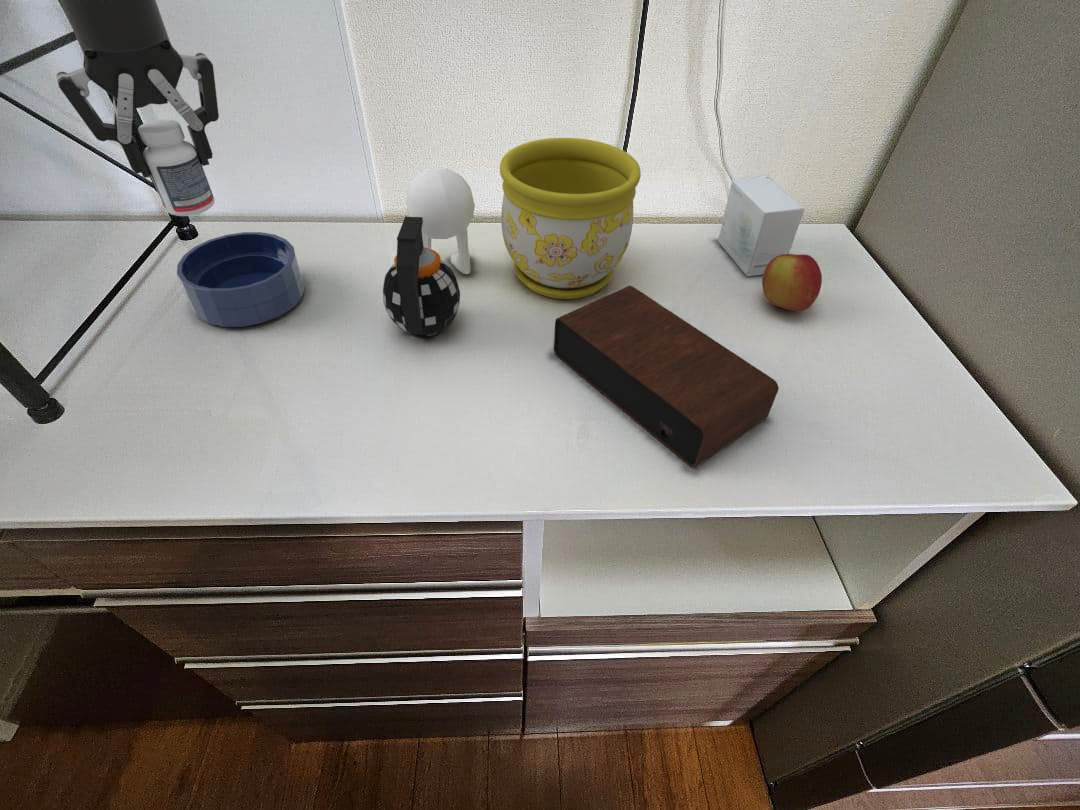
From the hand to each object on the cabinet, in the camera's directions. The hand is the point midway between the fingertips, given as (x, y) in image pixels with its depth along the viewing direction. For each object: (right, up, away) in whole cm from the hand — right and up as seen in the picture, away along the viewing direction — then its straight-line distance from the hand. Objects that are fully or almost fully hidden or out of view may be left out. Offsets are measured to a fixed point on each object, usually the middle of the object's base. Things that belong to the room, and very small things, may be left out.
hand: (175, 168), depth 68 cm
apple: (+73, -12, +19) cm, 77 cm away
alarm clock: (+53, -24, +7) cm, 59 cm away
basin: (0, -11, +17) cm, 20 cm away
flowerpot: (+43, -7, +23) cm, 49 cm away
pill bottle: (0, -3, +3) cm, 5 cm away
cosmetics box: (+72, -3, +28) cm, 77 cm away
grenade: (+25, -16, +13) cm, 32 cm away
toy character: (+26, -6, +23) cm, 35 cm away
